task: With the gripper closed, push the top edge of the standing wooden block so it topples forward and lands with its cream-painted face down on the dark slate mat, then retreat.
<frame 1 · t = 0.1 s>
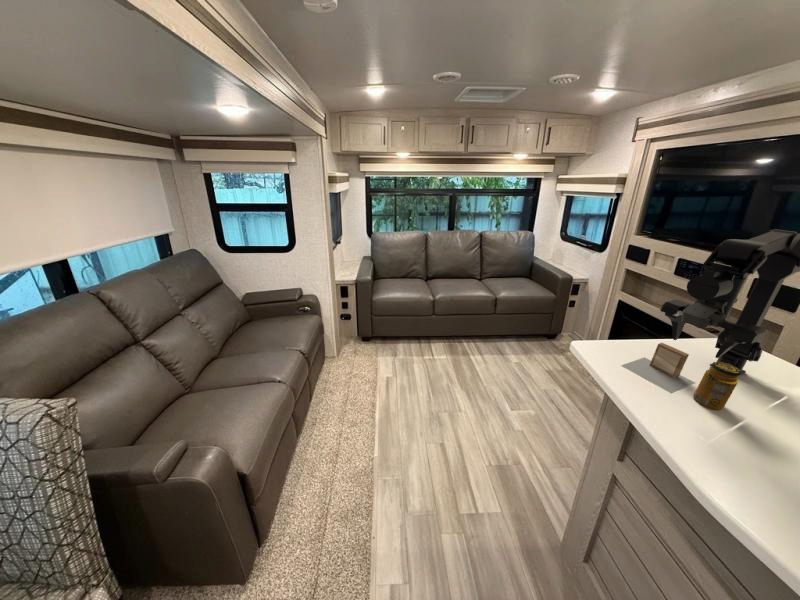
hand: (695, 348, 80), 15 cm above the table, fingers open, 9 cm apart
wooden block: (663, 371, 95), resting on mat
mat: (656, 374, 94), on the table
condiment: (704, 405, 82), on the table
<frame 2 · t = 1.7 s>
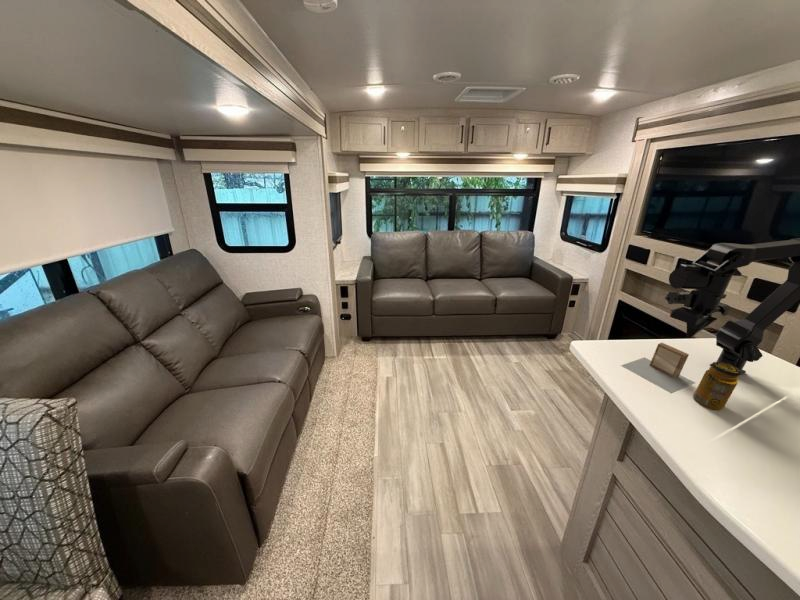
hand: (689, 337, 93), 11 cm above the table, fingers closed
nothing on the table moved.
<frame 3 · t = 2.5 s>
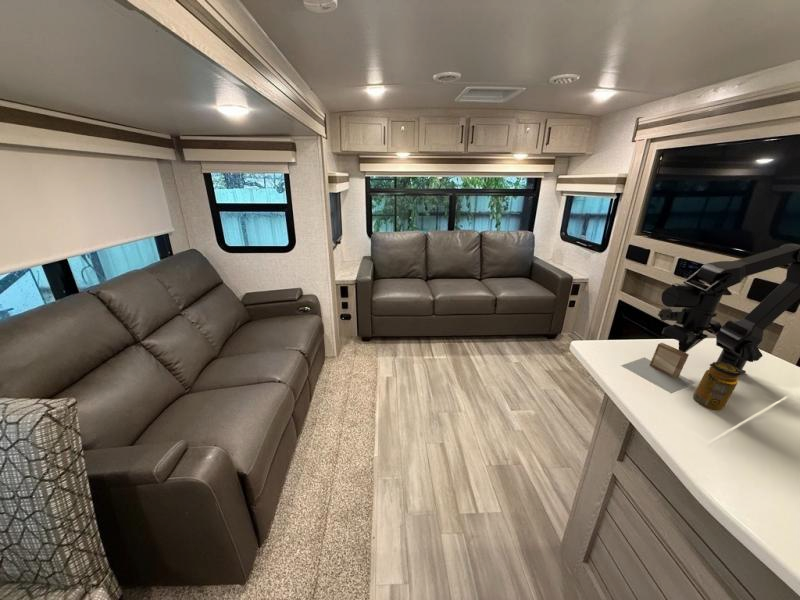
hand: (681, 353, 95), 5 cm above the table, fingers closed
nothing on the table moved.
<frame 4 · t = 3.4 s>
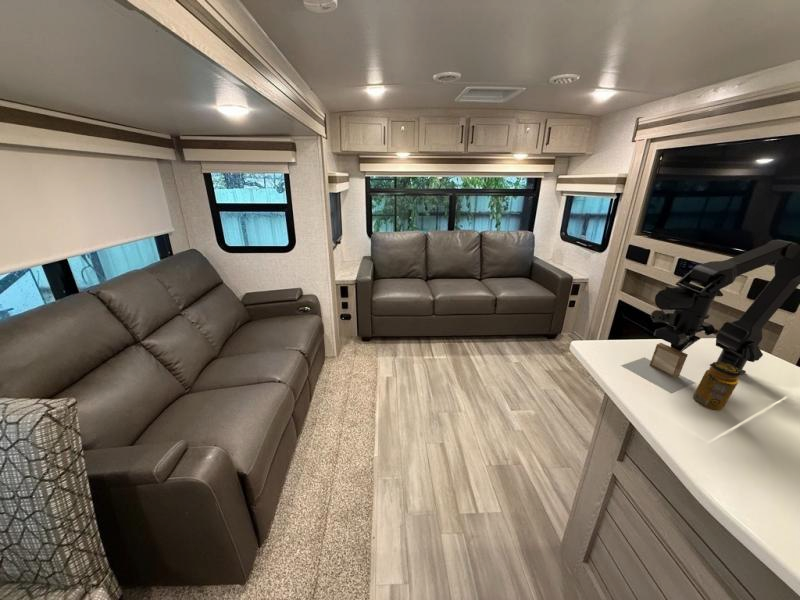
hand: (673, 355, 94), 6 cm above the table, fingers closed
nothing on the table moved.
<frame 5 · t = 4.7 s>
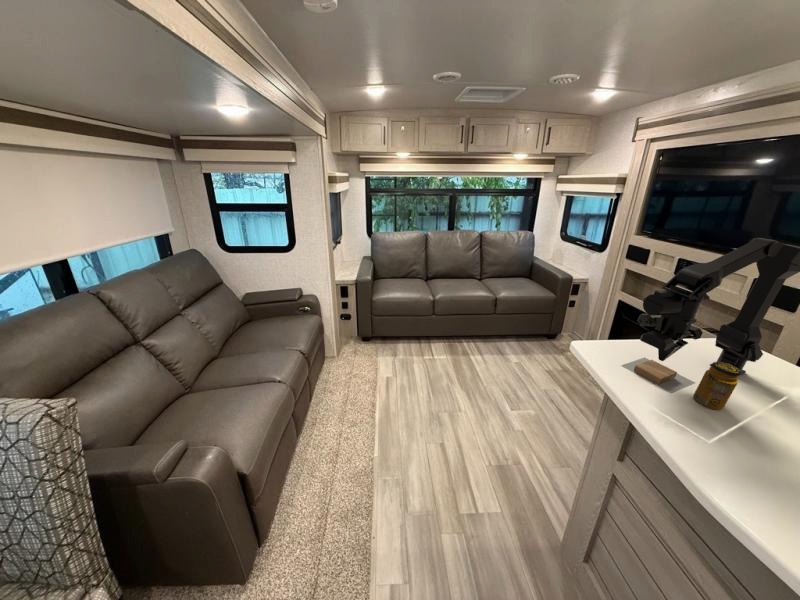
hand: (661, 360, 91), 5 cm above the table, fingers closed
wooden block: (662, 368, 94), point 2 cm above the table, tilted 90°, touching mat
everything else where it was.
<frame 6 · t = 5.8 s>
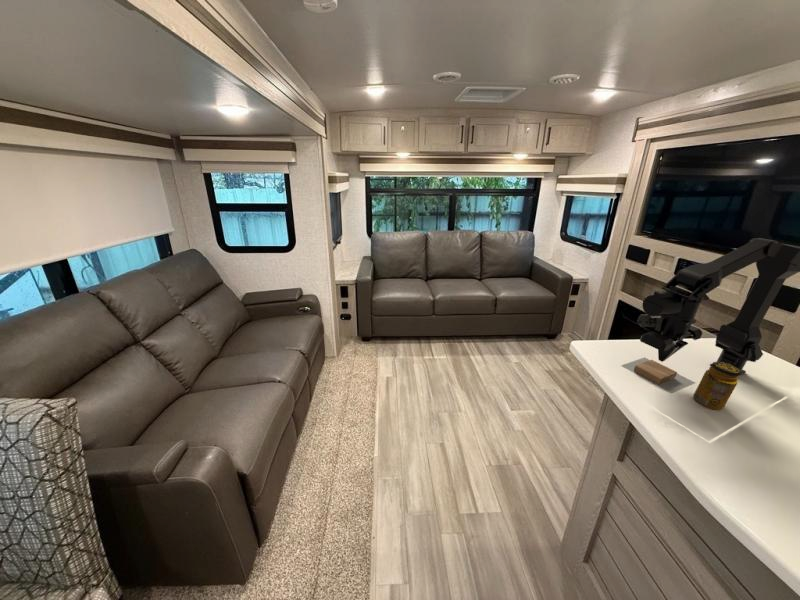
hand: (661, 360, 91), 5 cm above the table, fingers closed
nothing on the table moved.
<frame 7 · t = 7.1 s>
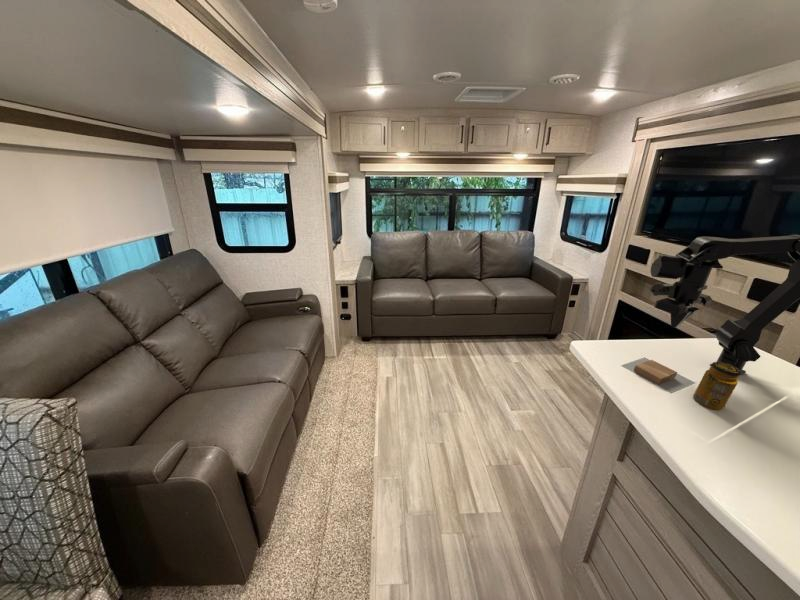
hand: (673, 327, 97), 12 cm above the table, fingers closed
nothing on the table moved.
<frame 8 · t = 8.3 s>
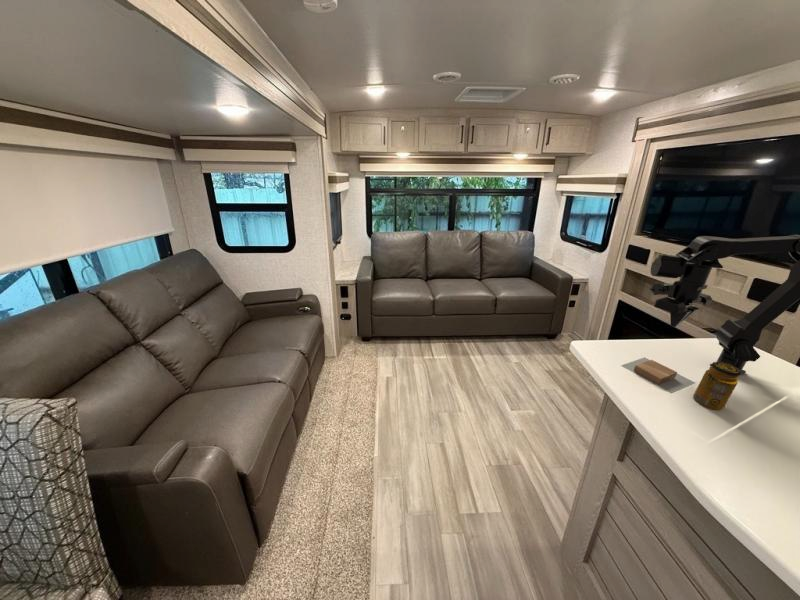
hand: (673, 326, 97), 12 cm above the table, fingers closed
nothing on the table moved.
at the end: wooden block tilted 90°; wooden block inside the target area (2.9 cm from its centre), point 1.6 cm above the table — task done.
